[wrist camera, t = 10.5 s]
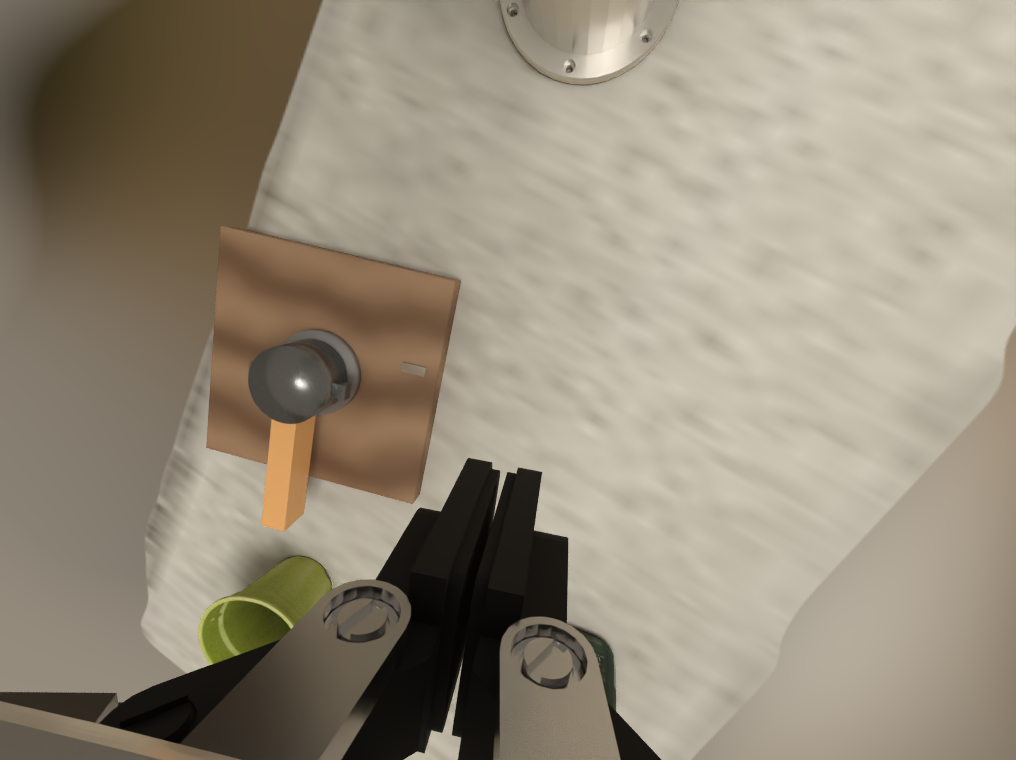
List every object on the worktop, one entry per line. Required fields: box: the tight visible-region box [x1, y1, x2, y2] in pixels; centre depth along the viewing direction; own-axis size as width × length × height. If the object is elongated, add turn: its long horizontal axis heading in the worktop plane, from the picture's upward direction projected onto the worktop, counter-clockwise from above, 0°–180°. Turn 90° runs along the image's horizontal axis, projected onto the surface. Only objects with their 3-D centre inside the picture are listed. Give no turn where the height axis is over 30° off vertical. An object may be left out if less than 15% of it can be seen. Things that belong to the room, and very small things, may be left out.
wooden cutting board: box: [206, 226, 461, 504], centre depth 42 cm, size 20×20×3 cm
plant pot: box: [198, 556, 331, 665], centre depth 45 cm, size 9×9×9 cm
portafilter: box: [248, 339, 352, 531], centre depth 39 cm, size 8×16×4 cm, turn 168°
